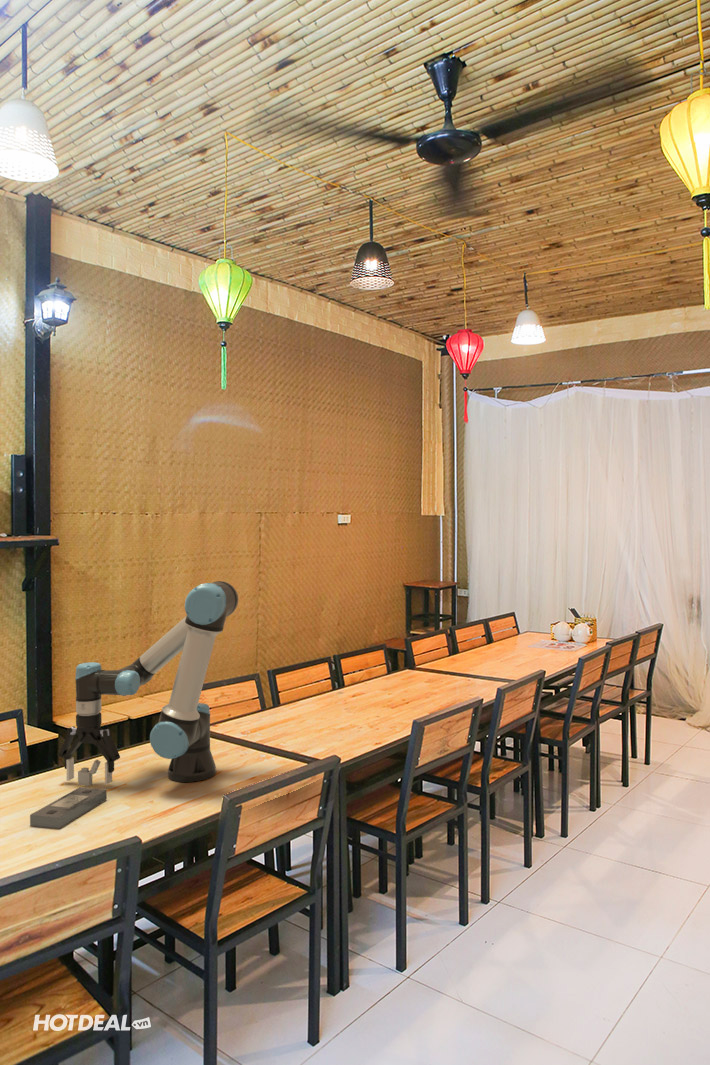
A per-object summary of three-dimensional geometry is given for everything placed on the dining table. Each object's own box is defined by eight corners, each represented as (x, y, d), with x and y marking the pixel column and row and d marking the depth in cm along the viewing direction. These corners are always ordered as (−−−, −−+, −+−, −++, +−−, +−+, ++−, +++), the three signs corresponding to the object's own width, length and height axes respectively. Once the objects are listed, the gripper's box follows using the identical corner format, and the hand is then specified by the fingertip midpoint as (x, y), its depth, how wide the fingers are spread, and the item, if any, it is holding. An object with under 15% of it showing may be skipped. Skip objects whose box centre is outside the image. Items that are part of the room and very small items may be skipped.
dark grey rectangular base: (106, 799, 218) (106, 788, 218) (59, 828, 197) (59, 816, 197) (79, 797, 221) (79, 786, 221) (30, 825, 199) (30, 814, 199)
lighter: (77, 785, 231) (77, 759, 231) (81, 783, 233) (80, 758, 233) (98, 786, 230) (97, 761, 230) (101, 785, 231) (100, 759, 231)
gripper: (46, 713, 231) (46, 781, 231) (117, 718, 224) (118, 788, 224) (61, 708, 238) (62, 774, 238) (130, 712, 232) (131, 780, 232)
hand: (89, 781), depth 231 cm, fingers open, 13 cm apart
